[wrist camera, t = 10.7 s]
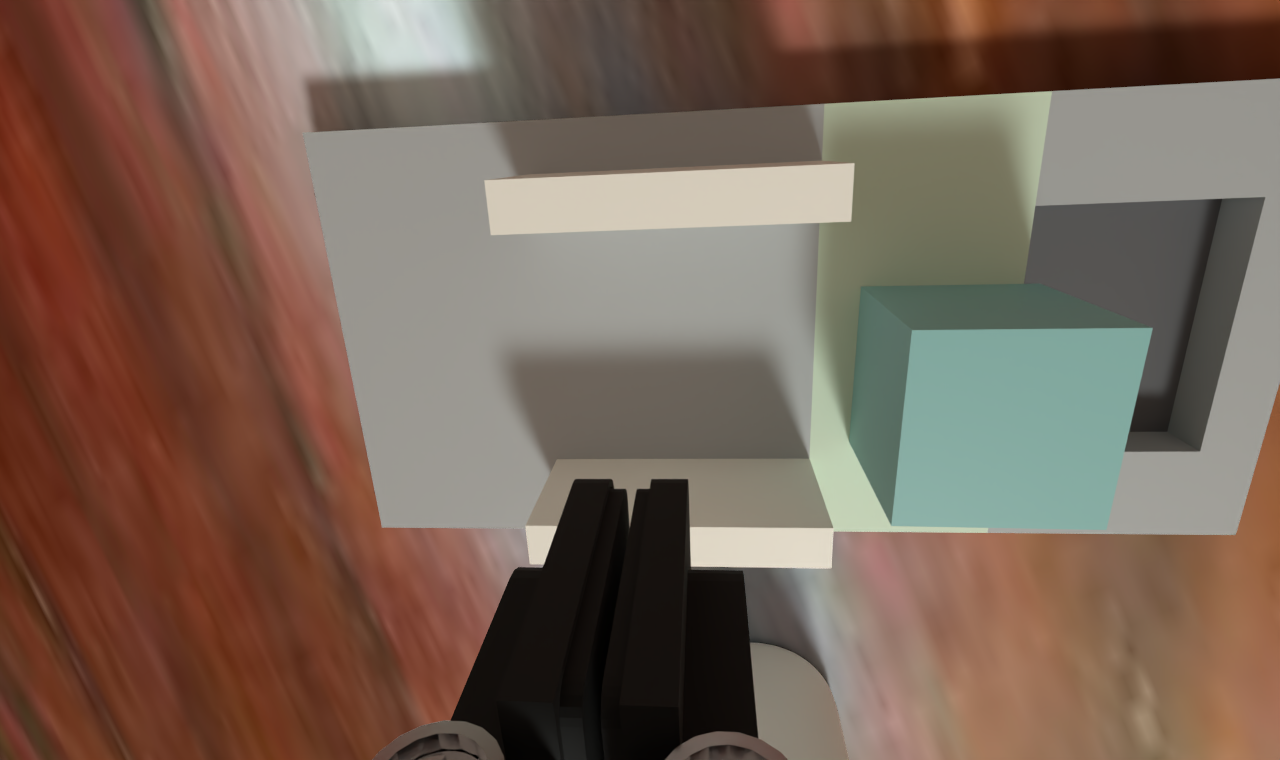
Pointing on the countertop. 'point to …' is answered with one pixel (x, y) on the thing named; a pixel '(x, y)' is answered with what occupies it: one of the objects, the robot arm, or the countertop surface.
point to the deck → (786, 296)
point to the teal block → (993, 404)
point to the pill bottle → (795, 706)
